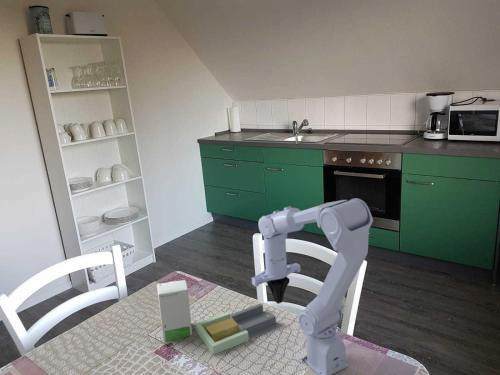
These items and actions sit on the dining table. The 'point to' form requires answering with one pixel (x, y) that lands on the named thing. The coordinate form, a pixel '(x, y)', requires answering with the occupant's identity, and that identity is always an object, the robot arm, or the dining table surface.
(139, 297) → the dining table surface
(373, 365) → the dining table surface
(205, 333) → the green and grey tray
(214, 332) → the chip
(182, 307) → the skincare box
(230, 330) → the chip
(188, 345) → the dining table surface
